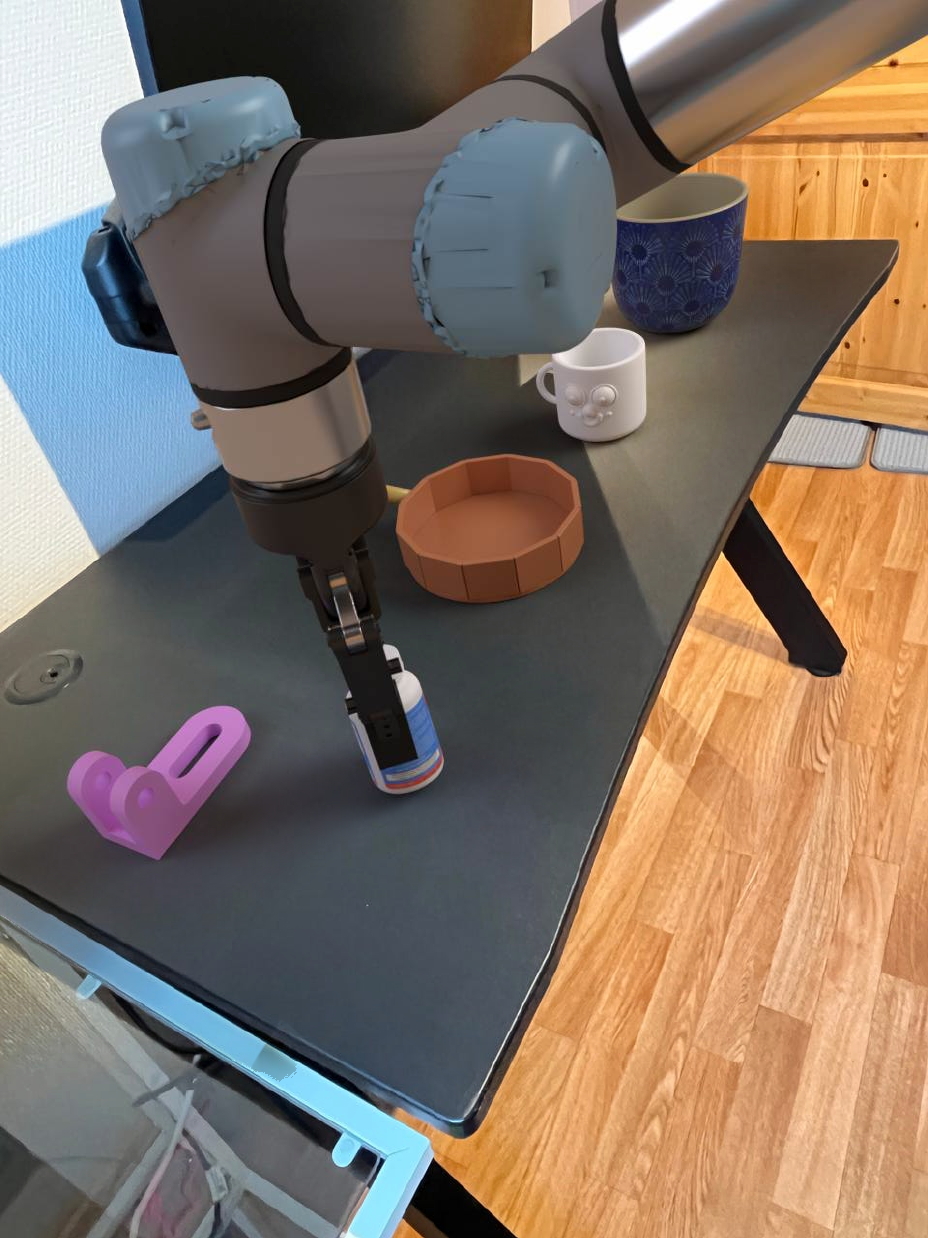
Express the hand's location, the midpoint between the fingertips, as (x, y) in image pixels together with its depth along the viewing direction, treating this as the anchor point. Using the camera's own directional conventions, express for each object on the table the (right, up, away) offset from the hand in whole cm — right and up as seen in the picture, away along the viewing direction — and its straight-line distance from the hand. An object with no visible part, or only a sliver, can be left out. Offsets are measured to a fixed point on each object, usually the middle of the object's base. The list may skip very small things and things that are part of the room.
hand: (397, 758), depth 57 cm
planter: (+32, +49, +54) cm, 79 cm away
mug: (+19, +31, +37) cm, 52 cm away
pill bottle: (+1, -2, +5) cm, 5 cm away
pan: (+3, +18, +27) cm, 32 cm away
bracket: (-17, -3, +8) cm, 19 cm away
